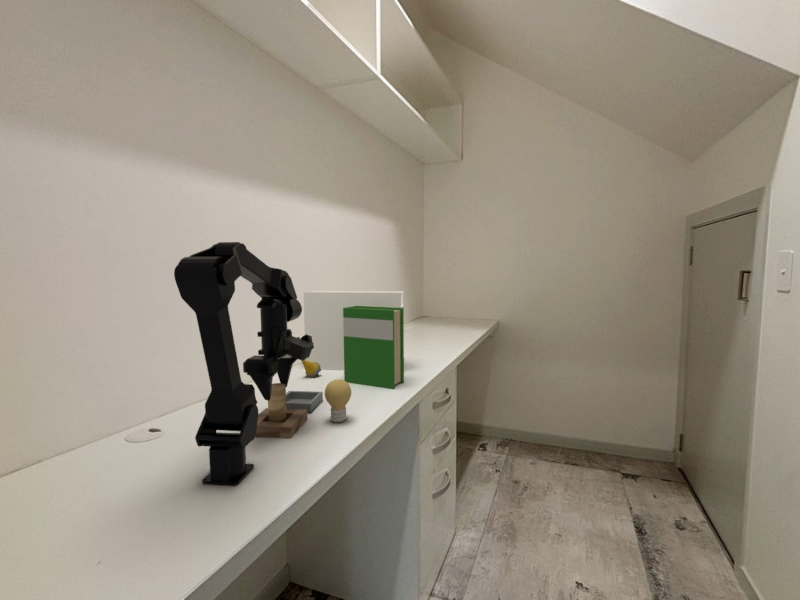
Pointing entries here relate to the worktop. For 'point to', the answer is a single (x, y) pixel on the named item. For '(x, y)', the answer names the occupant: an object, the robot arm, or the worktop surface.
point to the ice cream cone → (311, 368)
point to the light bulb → (338, 398)
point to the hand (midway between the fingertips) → (276, 393)
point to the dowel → (277, 403)
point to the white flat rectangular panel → (338, 320)
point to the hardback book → (373, 346)
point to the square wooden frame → (281, 424)
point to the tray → (303, 400)
